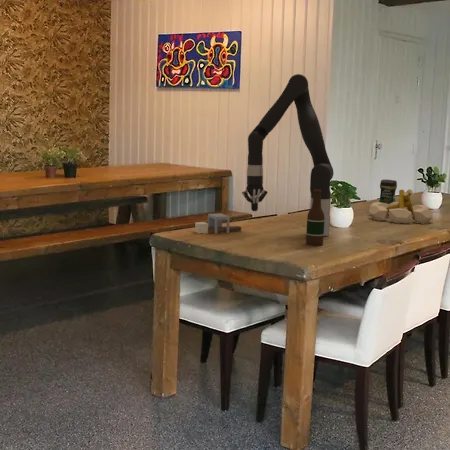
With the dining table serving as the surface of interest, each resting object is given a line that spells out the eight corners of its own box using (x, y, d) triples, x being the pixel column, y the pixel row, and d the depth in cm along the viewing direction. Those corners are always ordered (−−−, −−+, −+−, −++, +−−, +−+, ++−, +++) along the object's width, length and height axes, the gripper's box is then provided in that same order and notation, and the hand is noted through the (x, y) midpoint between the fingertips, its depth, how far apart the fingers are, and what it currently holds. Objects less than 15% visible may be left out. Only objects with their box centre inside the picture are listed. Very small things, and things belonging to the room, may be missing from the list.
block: (207, 233, 313) (208, 223, 312) (198, 233, 311) (198, 224, 310) (204, 231, 317) (204, 222, 316) (195, 232, 315) (195, 222, 314)
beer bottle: (302, 242, 298) (305, 188, 294) (318, 242, 301) (321, 188, 297) (310, 246, 291) (313, 190, 287) (326, 245, 294) (330, 190, 290)
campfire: (435, 226, 355) (438, 194, 352) (369, 222, 360) (371, 190, 357) (427, 216, 389) (429, 186, 386) (366, 213, 394) (368, 183, 392)
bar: (240, 232, 320) (241, 226, 320) (207, 233, 313) (207, 228, 313) (238, 231, 322) (238, 225, 322) (205, 232, 315) (205, 227, 315)
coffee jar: (376, 210, 403) (378, 179, 399) (380, 209, 409) (382, 178, 406) (392, 212, 398) (394, 180, 395) (396, 210, 405) (398, 179, 401)
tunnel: (229, 233, 315) (229, 216, 313) (215, 233, 312) (215, 217, 310) (221, 229, 323) (221, 213, 322) (207, 230, 321) (207, 213, 319)
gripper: (245, 175, 314) (245, 212, 316) (271, 174, 319) (270, 211, 322) (238, 174, 320) (238, 210, 323) (263, 173, 326) (263, 209, 329)
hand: (254, 211), depth 322 cm, fingers closed
